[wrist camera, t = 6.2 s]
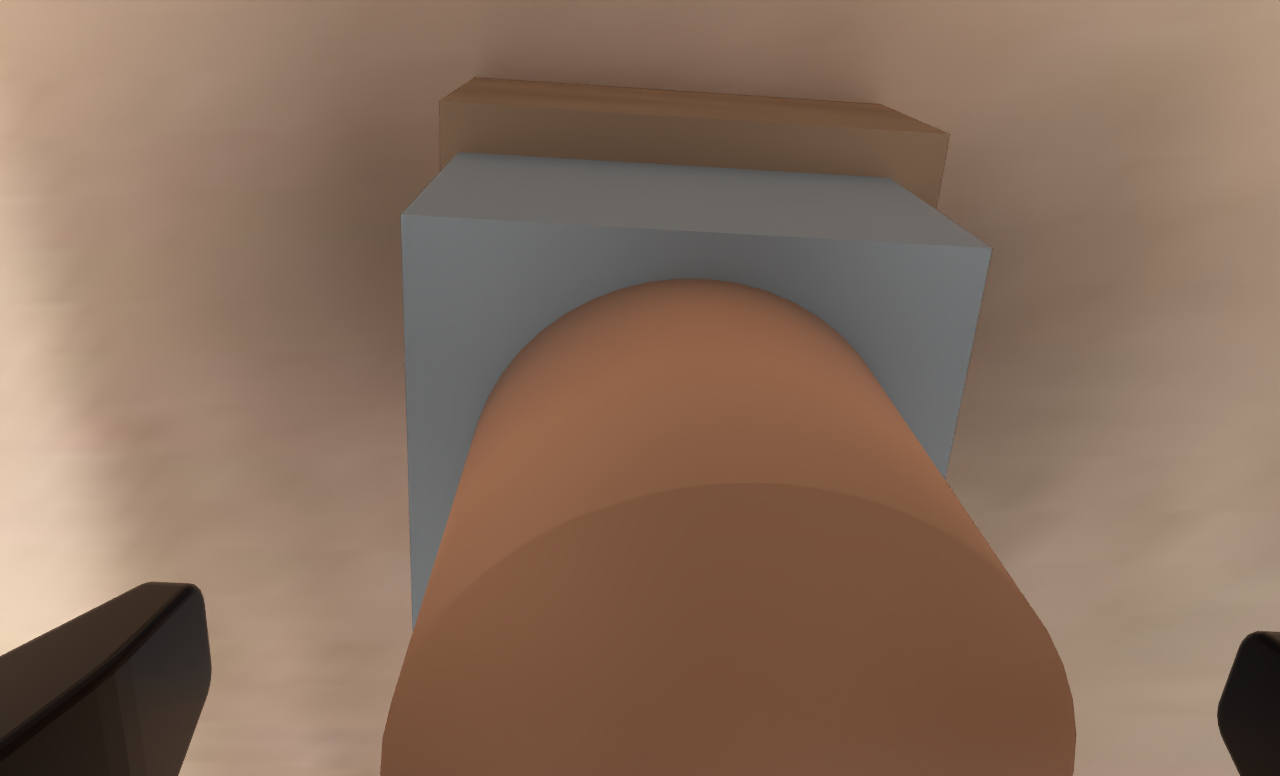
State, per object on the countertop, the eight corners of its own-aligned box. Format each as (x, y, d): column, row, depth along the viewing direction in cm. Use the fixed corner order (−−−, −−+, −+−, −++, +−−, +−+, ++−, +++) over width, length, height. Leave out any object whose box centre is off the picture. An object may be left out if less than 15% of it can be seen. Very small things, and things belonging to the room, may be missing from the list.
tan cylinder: (859, 670, 12) (989, 1035, 8) (464, 650, 12) (383, 1015, 8) (937, 295, 10) (1162, 508, 6) (474, 260, 10) (375, 457, 6)
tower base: (822, 458, 20) (871, 567, 16) (475, 442, 19) (444, 549, 16) (876, 102, 17) (950, 133, 14) (476, 75, 17) (438, 101, 13)
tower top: (831, 547, 16) (896, 715, 12) (460, 531, 16) (414, 699, 12) (889, 177, 14) (991, 248, 10) (458, 151, 13) (400, 215, 10)
